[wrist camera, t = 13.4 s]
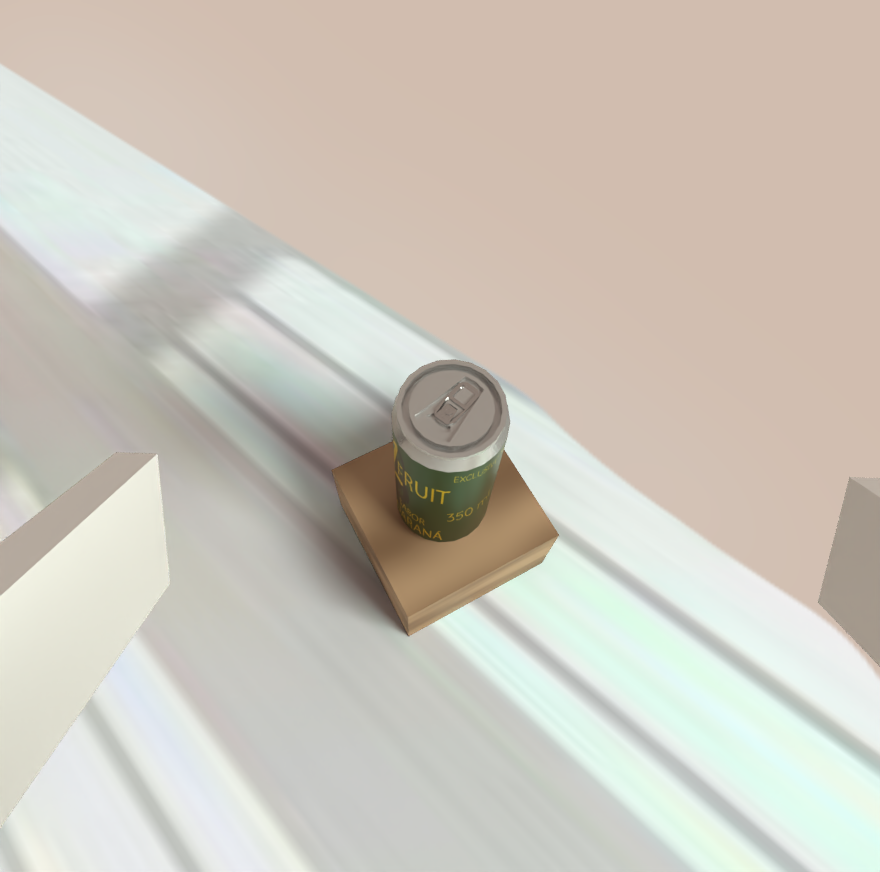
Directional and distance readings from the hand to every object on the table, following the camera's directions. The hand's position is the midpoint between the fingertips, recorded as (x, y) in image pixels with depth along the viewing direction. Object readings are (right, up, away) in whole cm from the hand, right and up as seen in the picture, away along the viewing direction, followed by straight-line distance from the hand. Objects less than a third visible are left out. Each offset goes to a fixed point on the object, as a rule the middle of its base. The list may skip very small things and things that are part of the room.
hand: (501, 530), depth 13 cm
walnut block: (-1, -5, +33) cm, 33 cm away
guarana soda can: (-1, -2, +28) cm, 28 cm away
